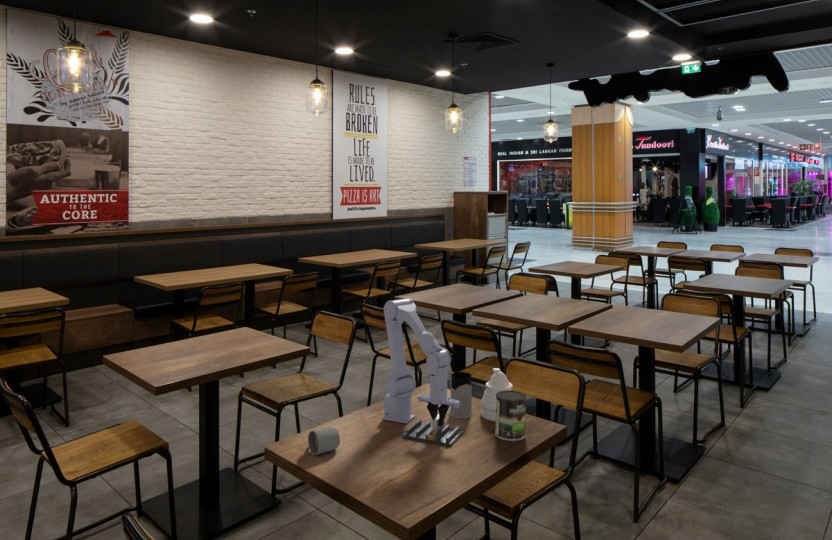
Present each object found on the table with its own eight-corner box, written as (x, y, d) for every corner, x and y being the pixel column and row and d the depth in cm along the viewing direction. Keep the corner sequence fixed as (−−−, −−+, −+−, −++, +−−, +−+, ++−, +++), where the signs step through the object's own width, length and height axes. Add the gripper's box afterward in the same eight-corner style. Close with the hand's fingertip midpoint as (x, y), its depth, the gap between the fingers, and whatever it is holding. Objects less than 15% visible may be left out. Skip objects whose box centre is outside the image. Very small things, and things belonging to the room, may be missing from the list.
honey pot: (503, 424, 205) (504, 375, 203) (474, 415, 214) (474, 368, 211) (522, 414, 215) (523, 367, 213) (493, 405, 223) (494, 360, 221)
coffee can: (531, 437, 194) (533, 397, 192) (506, 443, 189) (507, 402, 187) (513, 426, 203) (514, 388, 201) (488, 432, 198) (489, 392, 196)
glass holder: (455, 419, 209) (455, 379, 207) (439, 406, 222) (440, 368, 221) (476, 416, 213) (477, 377, 211) (460, 403, 226) (460, 366, 224)
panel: (432, 436, 192) (432, 419, 191) (440, 429, 198) (440, 412, 197) (436, 437, 191) (436, 420, 190) (444, 429, 198) (444, 413, 197)
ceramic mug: (341, 451, 183) (341, 428, 182) (318, 458, 178) (318, 434, 177) (325, 441, 191) (324, 418, 190) (302, 447, 186) (302, 424, 185)
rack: (402, 437, 194) (402, 430, 193) (417, 424, 205) (417, 417, 204) (450, 446, 187) (450, 439, 186) (463, 433, 197) (463, 426, 197)
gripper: (413, 386, 192) (413, 425, 194) (454, 392, 186) (454, 432, 188) (422, 380, 198) (422, 418, 200) (462, 386, 192) (461, 425, 194)
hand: (438, 424), depth 194 cm, fingers closed on panel, 2 cm apart
